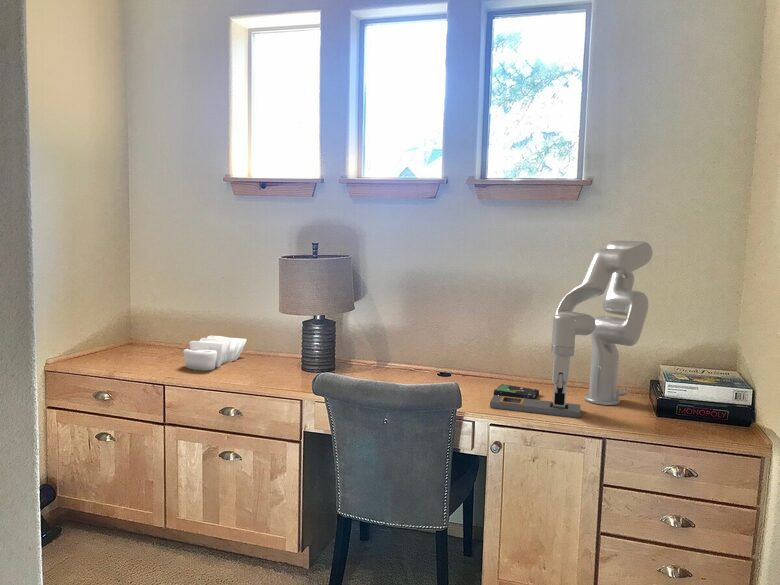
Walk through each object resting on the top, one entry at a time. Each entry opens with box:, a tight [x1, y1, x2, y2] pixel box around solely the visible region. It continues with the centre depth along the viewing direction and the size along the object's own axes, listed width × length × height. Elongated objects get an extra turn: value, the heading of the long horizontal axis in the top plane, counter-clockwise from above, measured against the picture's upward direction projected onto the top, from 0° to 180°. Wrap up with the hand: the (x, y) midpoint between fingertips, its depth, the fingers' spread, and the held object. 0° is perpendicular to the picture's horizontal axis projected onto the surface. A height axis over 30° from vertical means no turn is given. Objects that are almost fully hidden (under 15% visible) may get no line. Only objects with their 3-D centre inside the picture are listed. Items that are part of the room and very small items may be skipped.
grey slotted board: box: [489, 394, 581, 419], centre depth 214 cm, size 30×10×2 cm, turn 73°
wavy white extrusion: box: [183, 334, 248, 372], centre depth 267 cm, size 35×16×11 cm, turn 165°
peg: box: [552, 382, 568, 409], centre depth 211 cm, size 4×4×10 cm
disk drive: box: [493, 383, 540, 400], centre depth 232 cm, size 10×3×15 cm
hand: (559, 402), depth 211 cm, fingers closed on peg, 4 cm apart
